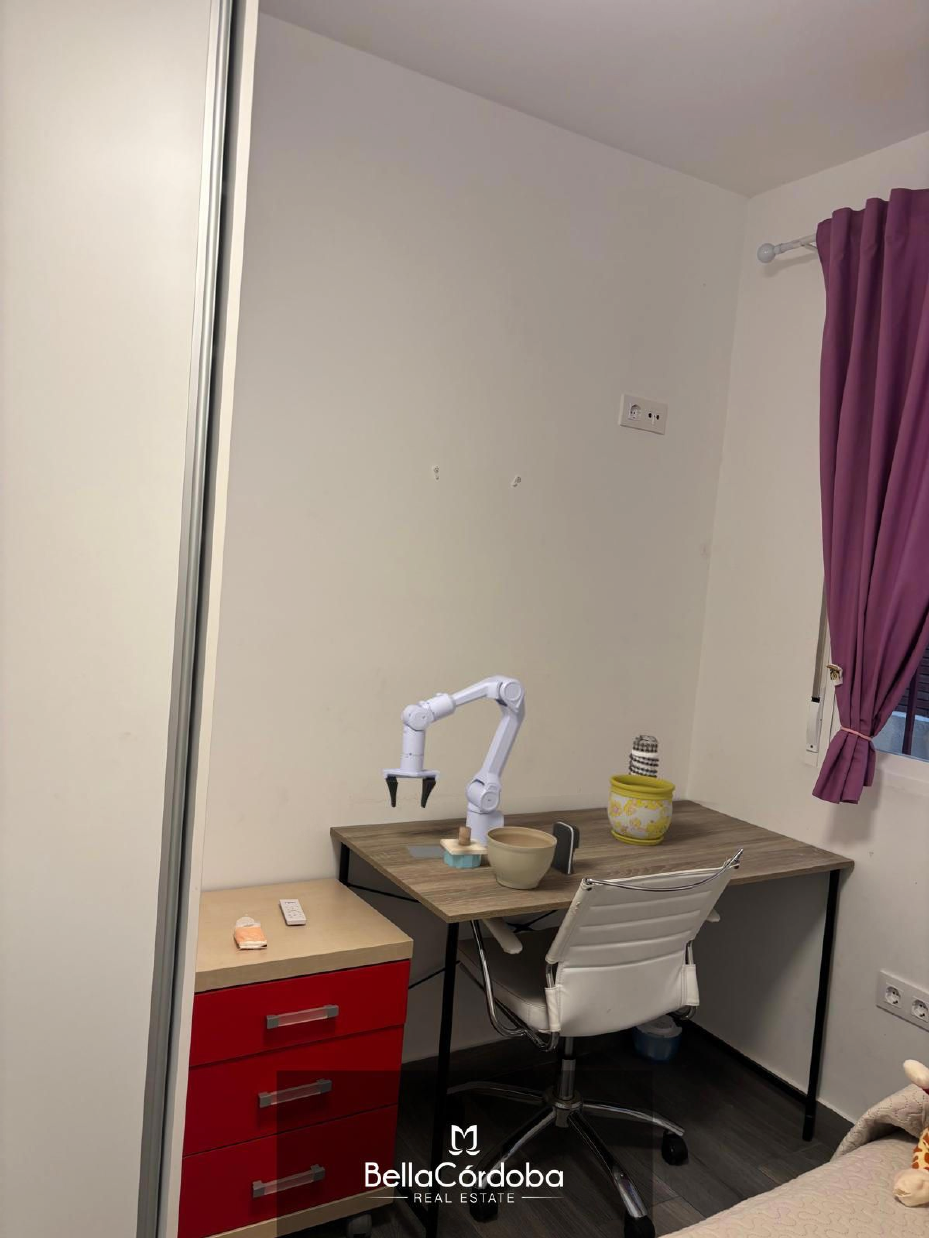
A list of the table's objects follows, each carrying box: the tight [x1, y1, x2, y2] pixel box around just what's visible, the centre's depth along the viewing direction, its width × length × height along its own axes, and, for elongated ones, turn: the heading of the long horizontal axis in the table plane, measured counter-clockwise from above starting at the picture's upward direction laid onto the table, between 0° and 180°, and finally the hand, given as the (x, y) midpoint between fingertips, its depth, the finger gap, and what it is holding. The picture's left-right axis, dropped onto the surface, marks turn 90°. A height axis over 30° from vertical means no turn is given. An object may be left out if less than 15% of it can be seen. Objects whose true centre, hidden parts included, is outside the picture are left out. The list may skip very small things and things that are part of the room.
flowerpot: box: [606, 774, 676, 847], centre depth 262 cm, size 18×18×16 cm
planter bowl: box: [486, 826, 557, 890], centre depth 214 cm, size 16×16×11 cm
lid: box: [439, 825, 487, 855], centre depth 224 cm, size 9×9×5 cm
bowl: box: [443, 847, 482, 870], centre depth 224 cm, size 8×8×4 cm
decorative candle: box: [627, 734, 660, 778], centre depth 289 cm, size 9×9×25 cm
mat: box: [405, 845, 445, 858], centre depth 231 cm, size 9×9×1 cm
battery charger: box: [549, 821, 581, 875], centre depth 227 cm, size 7×4×11 cm, turn 32°
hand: (408, 806), depth 236 cm, fingers open, 7 cm apart
